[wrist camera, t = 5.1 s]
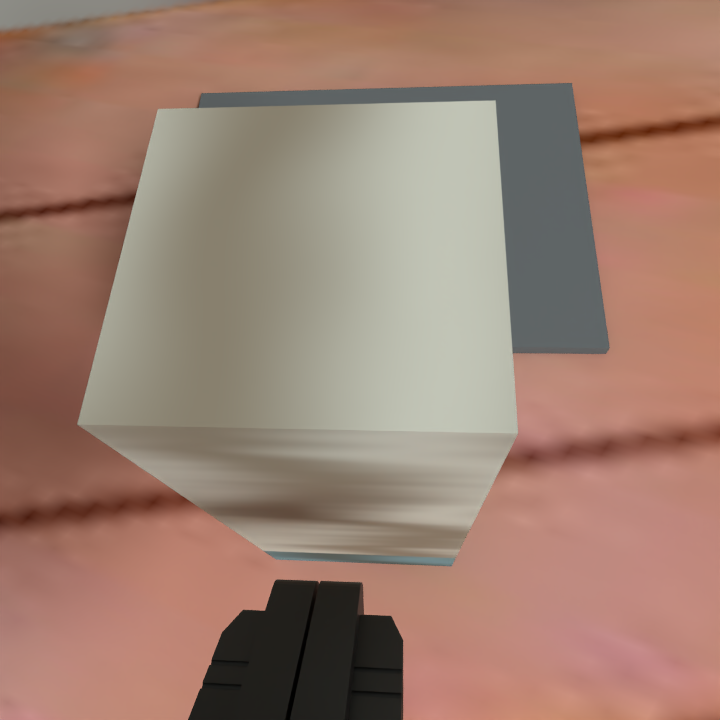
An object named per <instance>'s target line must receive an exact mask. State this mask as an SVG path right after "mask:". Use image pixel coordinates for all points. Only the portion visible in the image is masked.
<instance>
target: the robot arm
mask: <svg viewBox="0 0 720 720" xmlns="http://www.w3.org/2000/svg"><path fill="white" fill-rule="evenodd" d="M188 720H403V639H402V637H401V635H400V633H399V631H398V629H397V627H396V625H395V623H394V621H393V619H392V617H391V616H378V615H364V604H363V584H362V583H360V582H334V581H321V582H320V584H319V582H318V581H303V580H276V581H275V583H274V585H273V588H272V591H271V594H270V597H269V600H268V604H267V607H266V610H265V611H256V610H243V611H242V612H241V613H240V614H239V615H238V616H237V617H236V618H235V619H234V620H233V621H232V622H231V624H230V625H229V626H228V627H227V628H226V629H225V630H224V631H223V632H222V634H221V637H220V639H219V642H218V645H217V647H216V650H215V652H214V655H213V657H212V662H211V665H209V668H208V670H207V673H206V675H205V678H204V680H203V686H202V689H200V691H199V693H198V696H197V698H196V701H195V703H194V706H193V709H192V711H191V714H190V716H189V719H188Z"/></svg>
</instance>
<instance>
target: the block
mask: <svg viewBox="0 0 720 720" xmlns="http://www.w3.org/2000/svg"><path fill="white" fill-rule="evenodd" d="M77 425H79V426H80V427H82V428H83V429H84V430H86V431H87V432H89V433H90V434H92V435H93V436H95V437H96V438H98V439H99V440H101V441H102V442H104V443H105V444H107V445H108V446H110V447H111V448H113V449H114V450H115V451H117V452H118V453H120V454H121V455H123V456H124V457H126V458H127V459H129V460H130V461H132V462H133V463H135V464H136V465H138V466H139V467H141V468H142V469H143V470H145V471H146V472H148V473H149V474H151V475H152V476H154V477H155V478H157V479H158V480H160V481H161V482H163V483H164V484H166V485H167V486H169V487H170V488H172V489H173V490H174V491H176V492H177V493H179V494H180V495H182V496H183V497H185V498H186V499H188V500H189V501H191V502H192V503H194V504H195V505H197V506H198V507H200V508H201V509H202V510H204V511H205V512H207V513H208V514H210V515H211V516H213V517H214V518H216V519H217V520H219V521H220V522H222V523H223V524H225V525H226V526H228V527H229V528H231V529H232V530H233V531H235V532H236V533H238V534H239V535H241V536H242V537H244V538H245V539H247V540H248V541H250V542H251V543H253V544H254V545H256V546H257V547H259V548H260V549H261V550H263V551H264V552H266V553H267V554H269V555H270V556H272V557H273V558H275V559H279V560H305V561H330V562H356V563H382V564H407V565H433V566H452V564H453V562H454V560H455V558H456V556H457V554H458V552H459V550H460V548H461V546H462V544H463V542H464V540H465V538H466V536H467V534H468V532H469V530H470V528H471V526H472V524H473V522H474V520H475V518H476V516H477V514H478V512H479V510H480V508H481V506H482V504H483V502H484V500H485V498H486V496H487V494H488V492H489V490H490V488H491V486H492V484H493V482H494V480H495V478H496V476H497V474H498V472H499V470H500V468H501V466H502V464H503V462H504V460H505V458H506V456H507V454H508V452H509V450H510V448H511V446H512V444H513V442H514V440H515V438H516V436H517V435H518V426H517V411H516V396H515V381H514V367H513V352H512V337H511V322H510V307H509V292H508V277H507V262H506V247H505V233H504V218H503V203H502V188H501V173H500V158H499V143H498V128H497V114H496V100H493V101H454V102H415V103H376V104H337V105H298V106H259V107H220V108H181V109H158V111H157V115H156V119H155V123H154V127H153V131H152V135H151V139H150V142H149V146H148V150H147V154H146V158H145V162H144V166H143V170H142V174H141V178H140V181H139V185H138V189H137V193H136V197H135V201H134V205H133V209H132V213H131V217H130V220H129V224H128V228H127V232H126V236H125V240H124V244H123V248H122V252H121V256H120V260H119V263H118V267H117V271H116V275H115V279H114V283H113V287H112V291H111V295H110V299H109V302H108V306H107V310H106V314H105V318H104V322H103V326H102V330H101V334H100V338H99V341H98V345H97V349H96V353H95V357H94V361H93V365H92V369H91V373H90V377H89V380H88V384H87V388H86V392H85V396H84V400H83V404H82V408H81V412H80V416H79V420H78V423H77Z"/></svg>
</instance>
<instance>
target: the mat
mask: <svg viewBox="0 0 720 720" xmlns="http://www.w3.org/2000/svg"><path fill="white" fill-rule="evenodd" d="M493 100H496V114H497V128H498V143H499V158H500V173H501V188H502V203H503V218H504V233H505V247H506V262H507V277H508V292H509V307H510V322H511V337H512V352H513V353H573V354H606V353H607V351H608V350H609V341H608V334H607V327H606V320H605V313H604V306H603V299H602V292H601V285H600V277H599V270H598V263H597V256H596V249H595V242H594V235H593V228H592V221H591V214H590V207H589V200H588V193H587V186H586V179H585V172H584V165H583V158H582V151H581V144H580V137H579V130H578V123H577V116H576V109H575V102H574V95H573V88H572V83H559V84H523V85H487V86H452V87H416V88H380V89H344V90H308V91H272V92H236V93H202V94H201V99H200V104H199V108H220V107H259V106H298V105H337V104H376V103H415V102H454V101H493Z"/></svg>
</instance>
